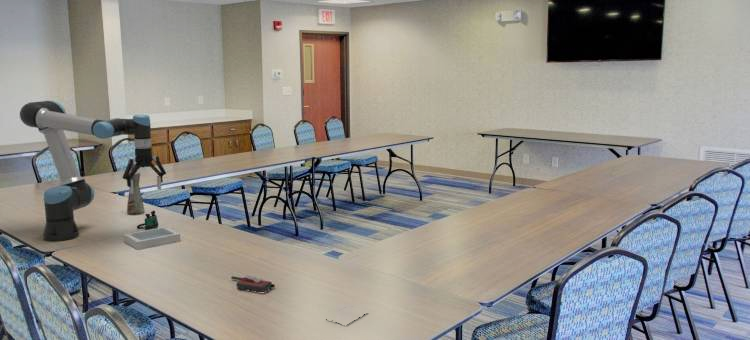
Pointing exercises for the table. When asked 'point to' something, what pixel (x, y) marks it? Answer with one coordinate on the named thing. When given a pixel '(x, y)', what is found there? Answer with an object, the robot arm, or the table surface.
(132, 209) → the bottle
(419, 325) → the table surface
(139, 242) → the case
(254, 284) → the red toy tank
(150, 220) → the binoculars
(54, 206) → the robot arm
